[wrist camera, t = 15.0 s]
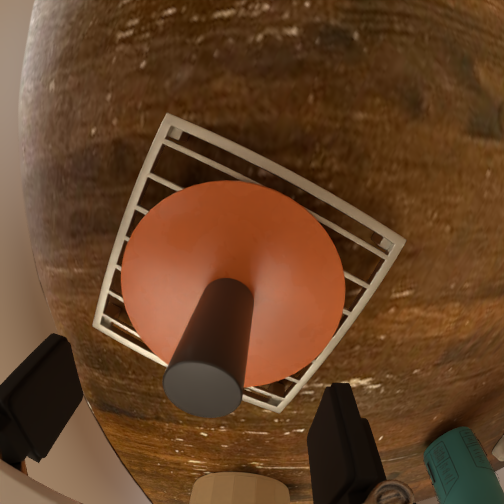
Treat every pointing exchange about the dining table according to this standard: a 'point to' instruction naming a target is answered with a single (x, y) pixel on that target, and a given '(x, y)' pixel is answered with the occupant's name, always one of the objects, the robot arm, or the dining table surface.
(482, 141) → the dining table surface
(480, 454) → the beverage bottle
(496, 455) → the ceramic cottage
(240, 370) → the lid
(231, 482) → the pot
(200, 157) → the rack
